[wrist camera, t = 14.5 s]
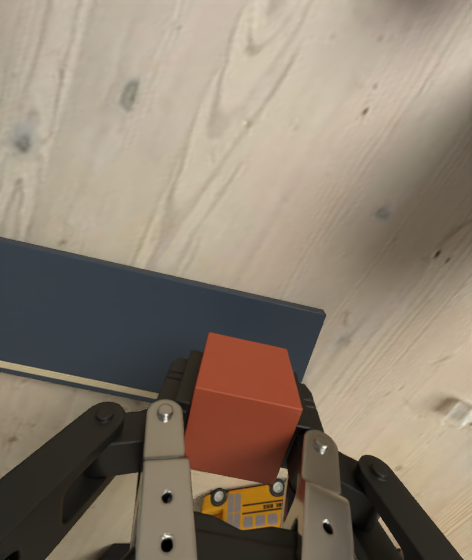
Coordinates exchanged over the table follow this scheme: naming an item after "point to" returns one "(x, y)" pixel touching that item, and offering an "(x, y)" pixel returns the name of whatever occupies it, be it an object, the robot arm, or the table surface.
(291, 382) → the rust block
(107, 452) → the robot arm
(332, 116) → the table surface
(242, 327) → the navy hardcover book
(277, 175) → the table surface
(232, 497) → the toy bus
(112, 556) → the portable speaker
